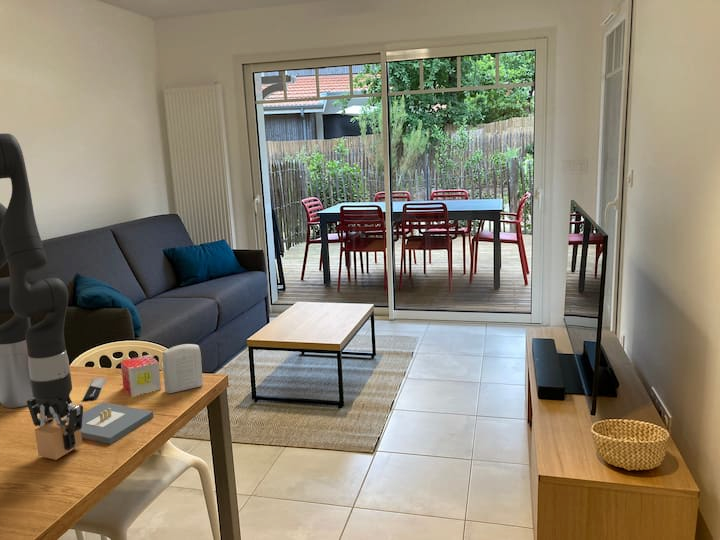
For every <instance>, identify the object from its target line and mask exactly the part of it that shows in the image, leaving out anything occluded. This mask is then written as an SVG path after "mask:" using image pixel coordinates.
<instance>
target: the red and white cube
mask: <svg viewBox="0 0 720 540" xmlns="http://www.w3.org/2000/svg"><path fill="white" fill-rule="evenodd" d="M120 367H121V375H122V386H123V389H124V388H125V389H124V391H126V392H127V394H128V393H129V394H130V395H129V394H128V395H129V396H130V397H131V398H133V396H134V397H138V396H141V395H140V394H142V395H144V394H143V393H146V394H149V392H150V393H153V392H152V391H154V392H157V391H156V390H158V391H160V390H159V389H161V390H162V383H161V373H160V363H159V361H158V360H156V359H155V358H154V357H153V356H152V355H150V354H146V355H142V356H138V357H132V358H128V359H124V360H123V359H122V360H120ZM137 395H138V396H137Z"/></svg>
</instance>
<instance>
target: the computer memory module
mask: <svg viewBox="0 0 720 540" xmlns="http://www.w3.org/2000/svg"><path fill="white" fill-rule="evenodd" d="M106 380H107V379H106V377H100V378H93V379H92V380H91V382H90V384H89V386H88V387H87V389H86V392H85V393H84V396H83V397H82V399H81V400H80V401H81V403H83V402H82V401H85V402H93V401H96V400H95V399H97V400H98V398H99V396H100V394H101V391H102V390H103V387H104V385H105V383H106Z"/></svg>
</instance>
